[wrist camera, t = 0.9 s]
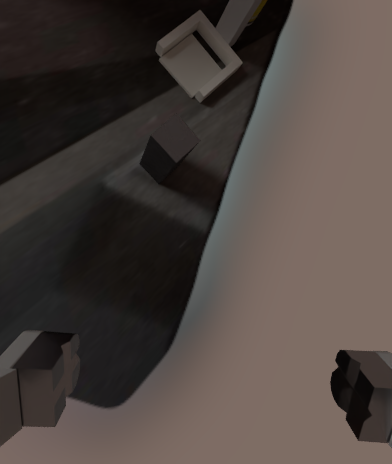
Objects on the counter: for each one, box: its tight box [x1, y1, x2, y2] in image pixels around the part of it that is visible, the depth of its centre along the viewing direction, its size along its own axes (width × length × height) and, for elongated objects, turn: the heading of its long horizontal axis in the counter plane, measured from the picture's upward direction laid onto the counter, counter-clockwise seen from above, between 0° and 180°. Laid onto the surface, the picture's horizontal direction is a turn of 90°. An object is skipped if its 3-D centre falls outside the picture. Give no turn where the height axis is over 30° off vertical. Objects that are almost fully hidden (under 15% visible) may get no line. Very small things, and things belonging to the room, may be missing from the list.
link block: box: [140, 113, 201, 184], centre depth 37 cm, size 4×4×11 cm
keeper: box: [155, 0, 262, 103], centre depth 38 cm, size 12×13×16 cm
